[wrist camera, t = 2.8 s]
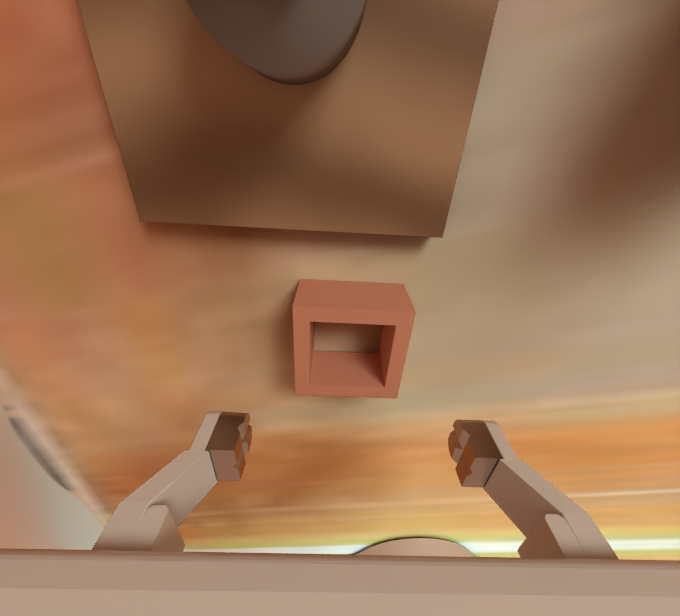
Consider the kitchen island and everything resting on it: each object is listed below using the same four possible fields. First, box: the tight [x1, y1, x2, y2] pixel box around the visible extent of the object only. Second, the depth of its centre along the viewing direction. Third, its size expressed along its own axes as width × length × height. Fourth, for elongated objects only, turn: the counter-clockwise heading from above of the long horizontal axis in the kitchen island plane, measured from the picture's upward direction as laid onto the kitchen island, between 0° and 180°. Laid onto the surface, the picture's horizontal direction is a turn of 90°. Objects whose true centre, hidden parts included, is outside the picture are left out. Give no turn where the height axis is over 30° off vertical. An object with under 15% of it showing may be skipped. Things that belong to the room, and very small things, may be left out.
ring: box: [293, 279, 416, 398], centre depth 17 cm, size 6×6×3 cm
